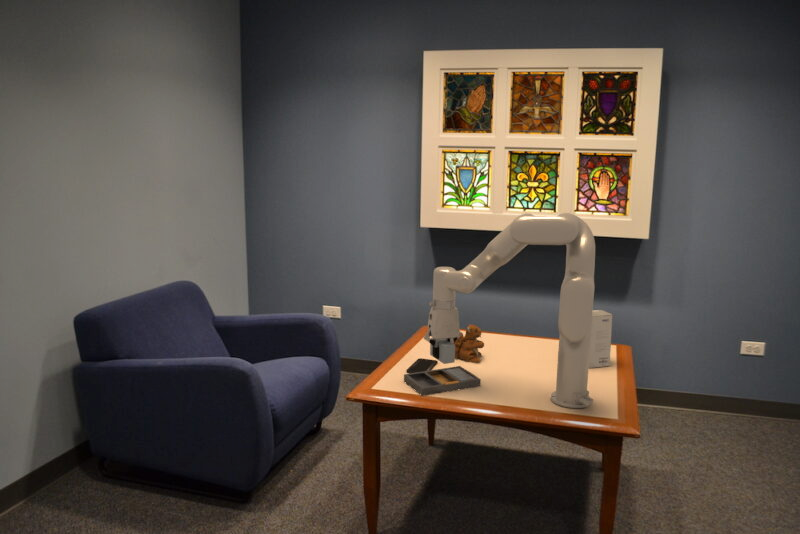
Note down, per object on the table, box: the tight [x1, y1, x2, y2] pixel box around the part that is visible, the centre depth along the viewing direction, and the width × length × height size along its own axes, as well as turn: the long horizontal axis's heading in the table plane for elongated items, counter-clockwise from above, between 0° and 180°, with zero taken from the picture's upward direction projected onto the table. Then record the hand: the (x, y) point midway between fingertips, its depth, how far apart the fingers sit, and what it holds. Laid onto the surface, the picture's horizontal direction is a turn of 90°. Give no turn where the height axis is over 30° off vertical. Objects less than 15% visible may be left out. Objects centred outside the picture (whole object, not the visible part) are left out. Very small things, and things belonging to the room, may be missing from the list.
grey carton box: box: [589, 309, 614, 369], centre depth 229 cm, size 16×8×20 cm, turn 105°
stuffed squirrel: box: [454, 323, 485, 364], centre depth 236 cm, size 10×14×13 cm
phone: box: [405, 358, 439, 374], centre depth 226 cm, size 8×1×15 cm
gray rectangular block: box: [429, 337, 456, 365], centre depth 209 cm, size 10×4×6 cm, turn 25°
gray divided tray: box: [403, 365, 481, 397], centre depth 210 cm, size 14×22×3 cm, turn 115°
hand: (442, 356), depth 209 cm, fingers closed on gray rectangular block, 4 cm apart
